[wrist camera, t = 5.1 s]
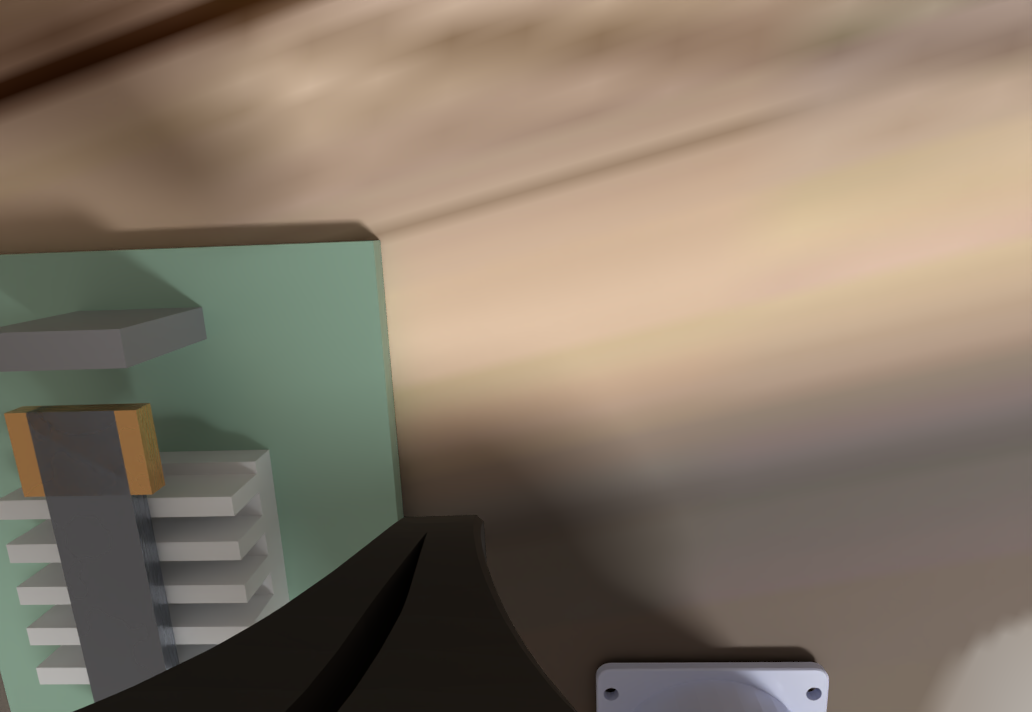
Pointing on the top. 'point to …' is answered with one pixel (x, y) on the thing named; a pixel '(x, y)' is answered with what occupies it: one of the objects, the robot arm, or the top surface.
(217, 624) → the heatsink board
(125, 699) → the robot arm
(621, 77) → the top surface
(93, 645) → the brown and grey bar
